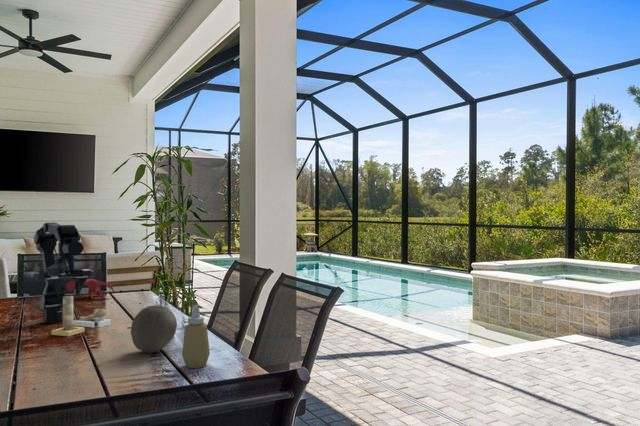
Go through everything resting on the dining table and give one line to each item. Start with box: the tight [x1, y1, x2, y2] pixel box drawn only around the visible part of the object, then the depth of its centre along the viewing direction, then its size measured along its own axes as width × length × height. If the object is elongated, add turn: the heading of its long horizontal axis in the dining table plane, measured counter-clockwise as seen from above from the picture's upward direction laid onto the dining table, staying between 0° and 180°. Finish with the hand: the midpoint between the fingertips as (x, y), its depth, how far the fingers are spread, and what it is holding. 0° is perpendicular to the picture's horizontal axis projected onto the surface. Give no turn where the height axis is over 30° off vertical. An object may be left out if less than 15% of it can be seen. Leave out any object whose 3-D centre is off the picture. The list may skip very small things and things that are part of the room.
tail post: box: [62, 295, 74, 331], centre depth 196 cm, size 4×4×14 cm
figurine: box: [75, 308, 107, 322], centre depth 212 cm, size 4×4×15 cm
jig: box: [51, 316, 111, 337], centre depth 204 cm, size 16×23×2 cm
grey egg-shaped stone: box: [130, 305, 178, 354], centre depth 169 cm, size 14×14×15 cm
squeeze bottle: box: [181, 304, 211, 369], centre depth 152 cm, size 8×8×18 cm
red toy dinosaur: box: [65, 278, 115, 299], centre depth 282 cm, size 28×9×15 cm
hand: (67, 295), depth 203 cm, fingers open, 9 cm apart
